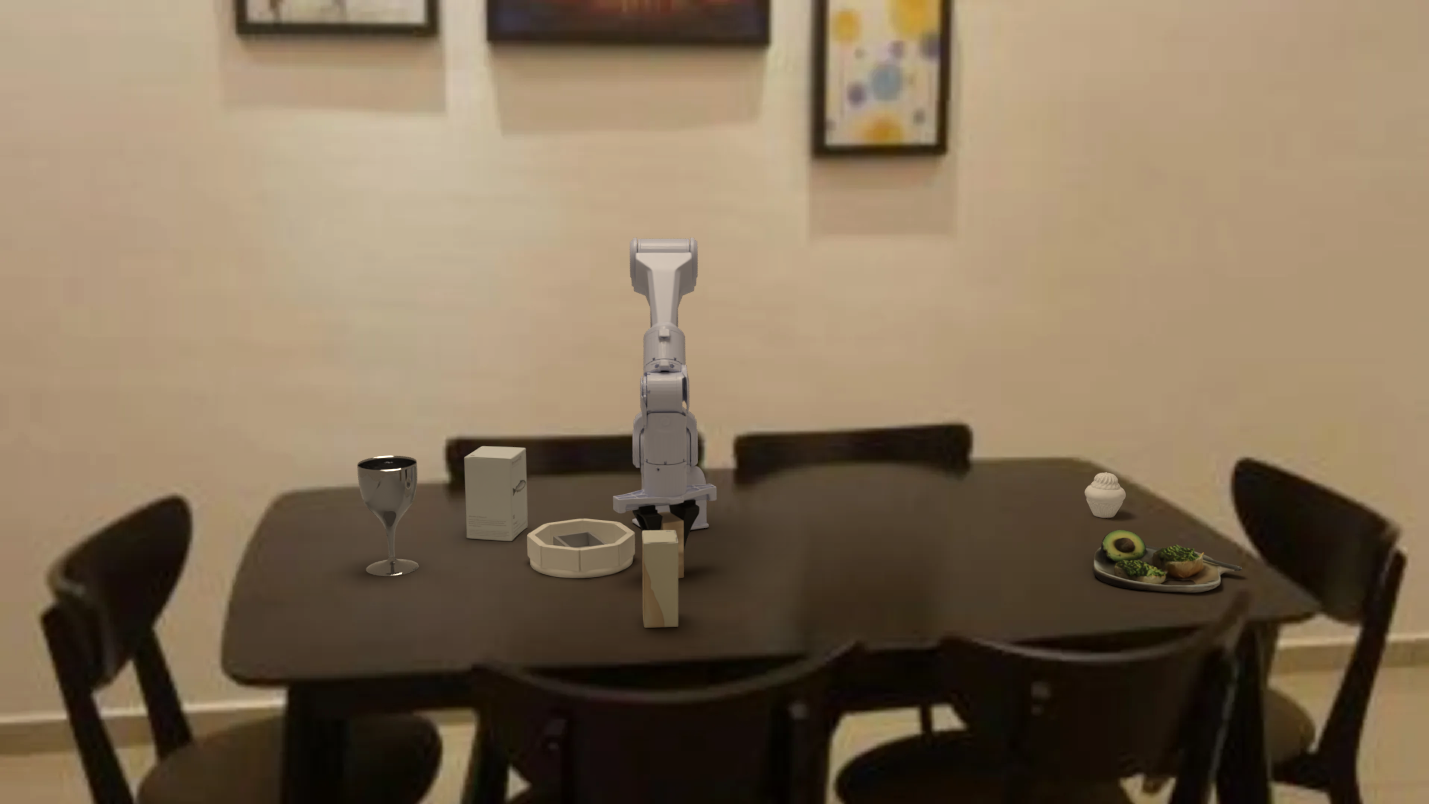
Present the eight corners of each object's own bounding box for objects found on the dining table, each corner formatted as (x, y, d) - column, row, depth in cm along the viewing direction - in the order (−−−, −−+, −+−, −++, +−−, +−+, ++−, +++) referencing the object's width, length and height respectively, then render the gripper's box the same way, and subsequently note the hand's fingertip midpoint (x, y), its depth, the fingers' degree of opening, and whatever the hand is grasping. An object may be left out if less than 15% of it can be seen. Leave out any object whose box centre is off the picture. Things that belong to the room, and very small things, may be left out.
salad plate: (1237, 562, 194) (1240, 531, 193) (1245, 604, 177) (1248, 570, 176) (1095, 549, 200) (1097, 519, 199) (1090, 589, 183) (1091, 556, 182)
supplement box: (513, 542, 202) (510, 458, 199) (465, 539, 203) (462, 456, 201) (529, 527, 209) (527, 446, 206) (483, 524, 210) (480, 444, 208)
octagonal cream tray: (609, 540, 203) (609, 514, 202) (649, 568, 190) (648, 540, 189) (516, 553, 196) (515, 527, 196) (550, 584, 184) (549, 555, 183)
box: (642, 613, 173) (641, 529, 171) (676, 612, 173) (676, 528, 171) (643, 629, 168) (642, 542, 166) (679, 628, 168) (678, 541, 166)
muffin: (1081, 518, 214) (1083, 474, 212) (1086, 507, 219) (1088, 465, 218) (1122, 522, 212) (1125, 478, 210) (1126, 512, 217) (1129, 469, 216)
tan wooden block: (668, 566, 191) (668, 511, 189) (683, 577, 187) (683, 520, 185) (648, 569, 190) (648, 514, 188) (663, 580, 185) (663, 523, 184)
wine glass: (432, 562, 193) (427, 458, 190) (402, 579, 186) (396, 472, 182) (383, 556, 195) (378, 453, 192) (351, 573, 188) (345, 467, 185)
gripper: (626, 472, 178) (628, 572, 181) (726, 460, 184) (726, 557, 187) (606, 460, 184) (608, 557, 187) (703, 449, 191) (704, 543, 193)
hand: (665, 556), depth 188 cm, fingers closed on tan wooden block, 3 cm apart
